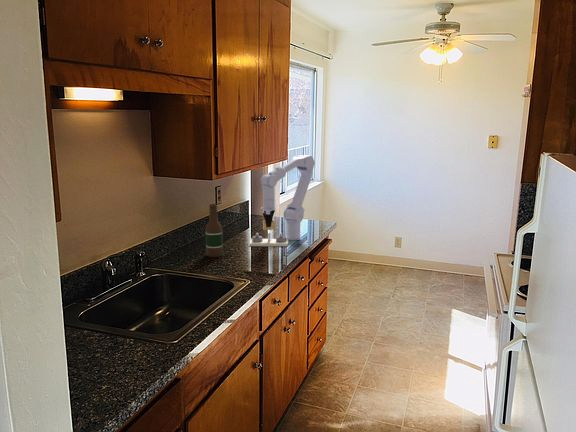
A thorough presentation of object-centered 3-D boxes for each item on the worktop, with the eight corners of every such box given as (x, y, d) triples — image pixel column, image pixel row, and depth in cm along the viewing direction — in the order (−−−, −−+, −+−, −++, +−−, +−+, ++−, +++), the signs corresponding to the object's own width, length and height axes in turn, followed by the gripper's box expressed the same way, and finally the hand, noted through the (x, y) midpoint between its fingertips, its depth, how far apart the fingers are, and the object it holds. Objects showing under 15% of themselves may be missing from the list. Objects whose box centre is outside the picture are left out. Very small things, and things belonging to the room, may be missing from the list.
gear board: (251, 241, 248) (251, 231, 247) (288, 241, 248) (288, 231, 247) (249, 246, 240) (249, 235, 239) (287, 246, 239) (287, 235, 238)
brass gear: (274, 227, 245) (274, 219, 244) (274, 230, 239) (274, 222, 239) (263, 227, 245) (263, 219, 244) (263, 230, 239) (262, 222, 239)
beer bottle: (226, 254, 225) (225, 204, 220) (213, 258, 219) (211, 206, 214) (215, 251, 230) (214, 202, 225) (202, 255, 224) (200, 204, 219)
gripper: (261, 196, 246) (262, 222, 249) (259, 201, 232) (259, 228, 235) (275, 196, 246) (275, 222, 249) (274, 201, 232) (274, 229, 235)
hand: (269, 225), depth 242 cm, fingers closed on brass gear, 6 cm apart
